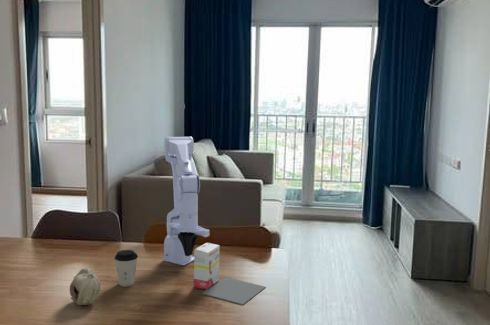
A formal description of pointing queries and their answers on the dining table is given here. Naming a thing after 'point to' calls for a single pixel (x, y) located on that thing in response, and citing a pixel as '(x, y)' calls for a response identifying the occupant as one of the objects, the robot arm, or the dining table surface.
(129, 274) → the coffee cup
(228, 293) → the mat
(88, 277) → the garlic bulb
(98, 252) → the dining table surface
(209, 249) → the ink box
